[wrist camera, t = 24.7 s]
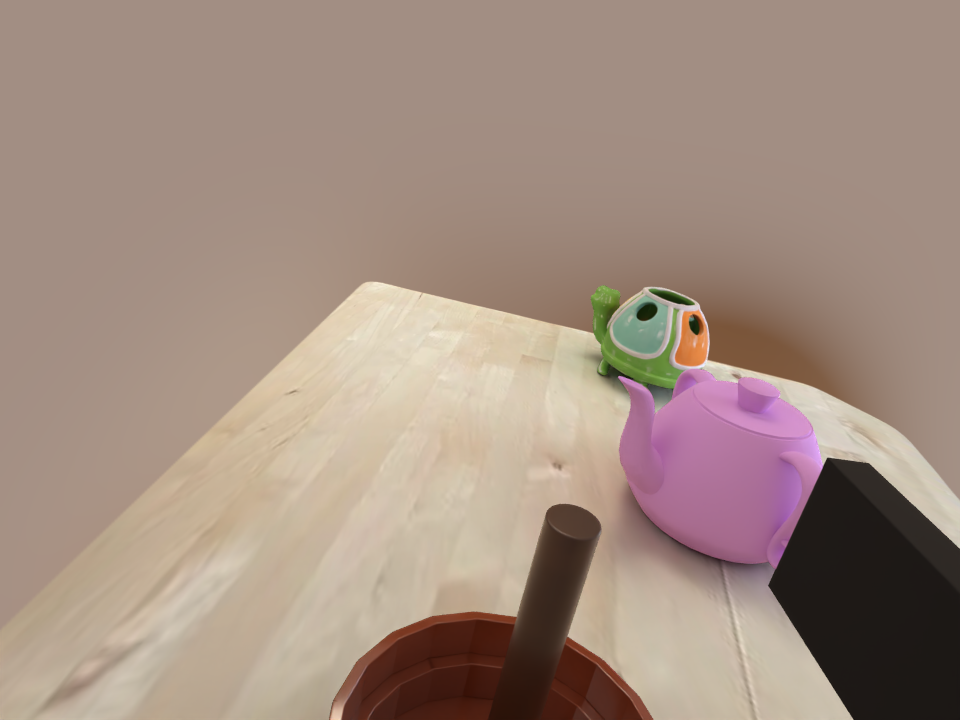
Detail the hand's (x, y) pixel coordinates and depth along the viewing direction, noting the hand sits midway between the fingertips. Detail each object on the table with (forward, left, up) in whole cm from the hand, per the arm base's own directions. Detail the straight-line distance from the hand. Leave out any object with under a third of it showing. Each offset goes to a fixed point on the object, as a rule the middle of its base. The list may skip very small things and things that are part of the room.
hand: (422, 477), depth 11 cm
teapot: (+38, +32, -28) cm, 57 cm away
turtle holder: (+50, +61, -28) cm, 84 cm away
